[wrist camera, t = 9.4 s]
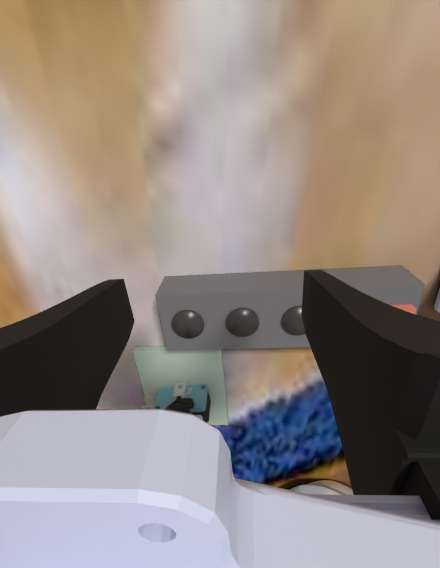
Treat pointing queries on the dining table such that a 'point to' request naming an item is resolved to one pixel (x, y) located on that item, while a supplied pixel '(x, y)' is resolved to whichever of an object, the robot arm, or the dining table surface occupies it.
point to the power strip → (262, 306)
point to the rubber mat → (184, 374)
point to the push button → (183, 400)
